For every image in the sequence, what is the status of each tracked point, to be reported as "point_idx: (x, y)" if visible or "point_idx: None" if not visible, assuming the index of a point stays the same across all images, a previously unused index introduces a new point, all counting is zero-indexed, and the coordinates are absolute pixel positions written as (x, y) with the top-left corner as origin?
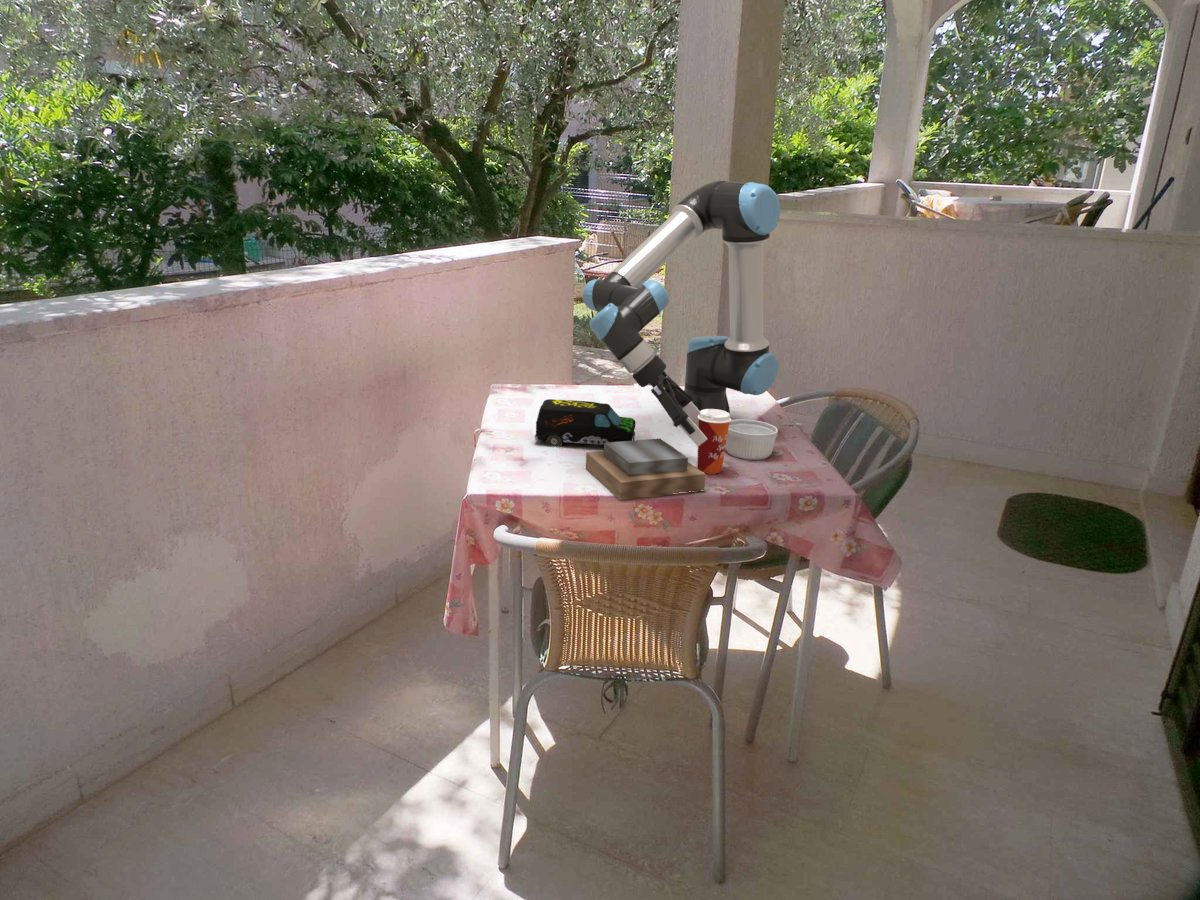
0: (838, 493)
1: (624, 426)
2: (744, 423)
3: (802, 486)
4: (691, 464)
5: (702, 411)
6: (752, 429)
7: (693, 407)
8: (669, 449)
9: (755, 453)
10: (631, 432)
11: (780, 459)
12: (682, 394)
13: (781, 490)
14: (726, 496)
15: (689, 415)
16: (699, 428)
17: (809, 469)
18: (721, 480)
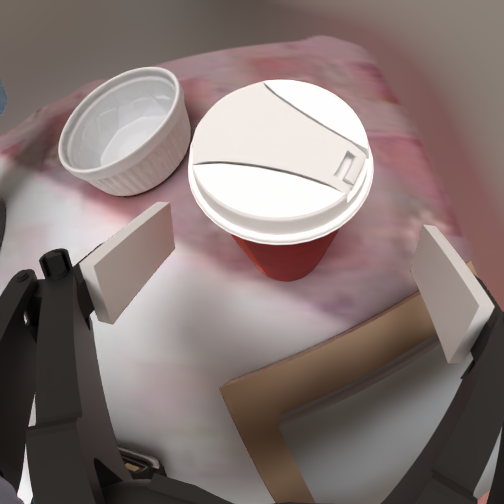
0: (354, 48)
1: None
2: (69, 137)
3: (341, 78)
4: (408, 301)
5: (261, 202)
6: (85, 127)
7: (115, 257)
8: (417, 385)
9: (189, 127)
10: (137, 478)
11: (184, 98)
12: (67, 329)
13: (379, 111)
14: (456, 222)
15: (137, 286)
16: (305, 249)
17: (239, 62)
18: (361, 221)
